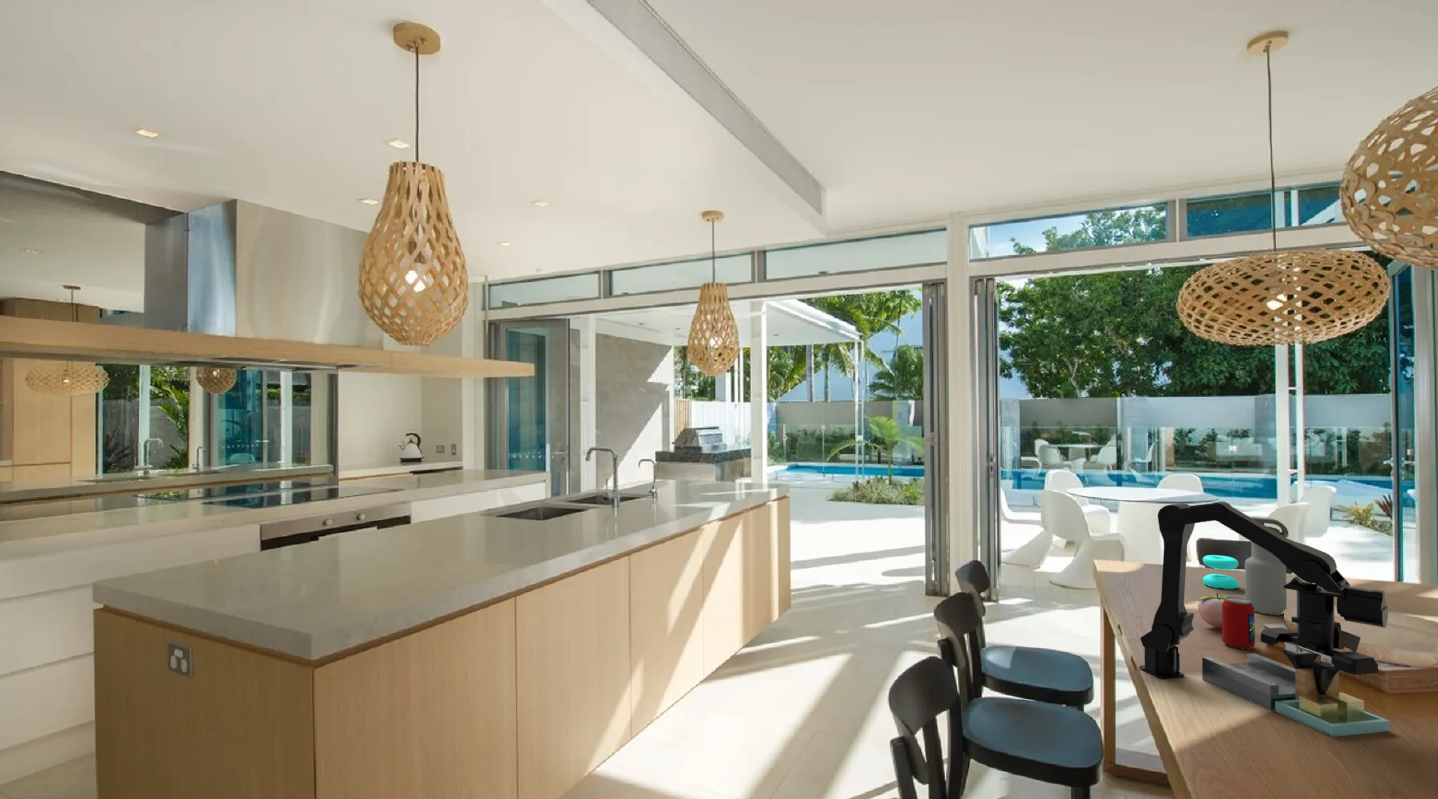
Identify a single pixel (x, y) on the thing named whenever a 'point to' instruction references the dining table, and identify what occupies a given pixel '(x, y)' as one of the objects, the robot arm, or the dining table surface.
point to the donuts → (1218, 579)
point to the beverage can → (1238, 622)
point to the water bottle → (1266, 576)
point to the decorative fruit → (1211, 610)
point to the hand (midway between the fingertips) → (1315, 692)
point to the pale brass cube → (1319, 708)
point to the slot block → (1253, 679)
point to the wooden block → (1312, 683)
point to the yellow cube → (1347, 707)
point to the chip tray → (1339, 729)
